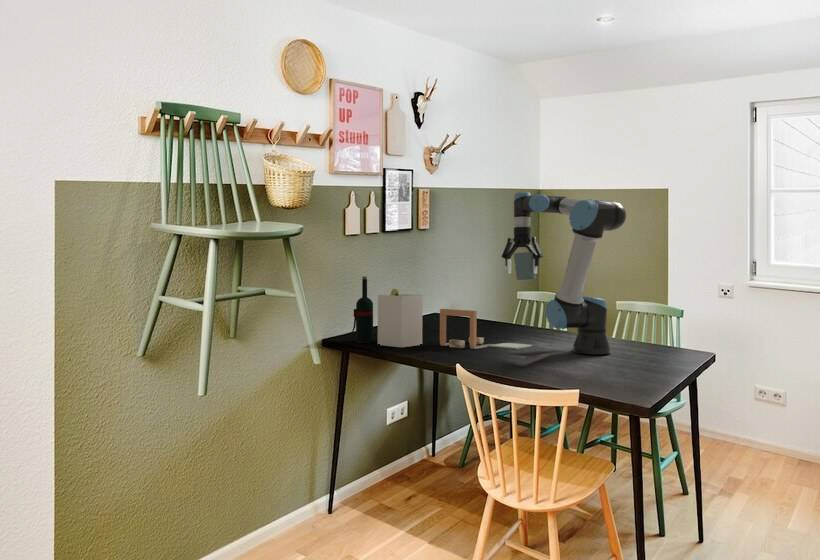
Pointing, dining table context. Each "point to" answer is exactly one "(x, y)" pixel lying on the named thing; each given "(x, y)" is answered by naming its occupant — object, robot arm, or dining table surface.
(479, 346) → the rails
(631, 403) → the dining table surface
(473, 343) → the wooden arch
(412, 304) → the light grey box
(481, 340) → the beige rectangular block
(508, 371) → the dining table surface
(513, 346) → the coaster
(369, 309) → the wine bottle
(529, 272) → the grey open tube
